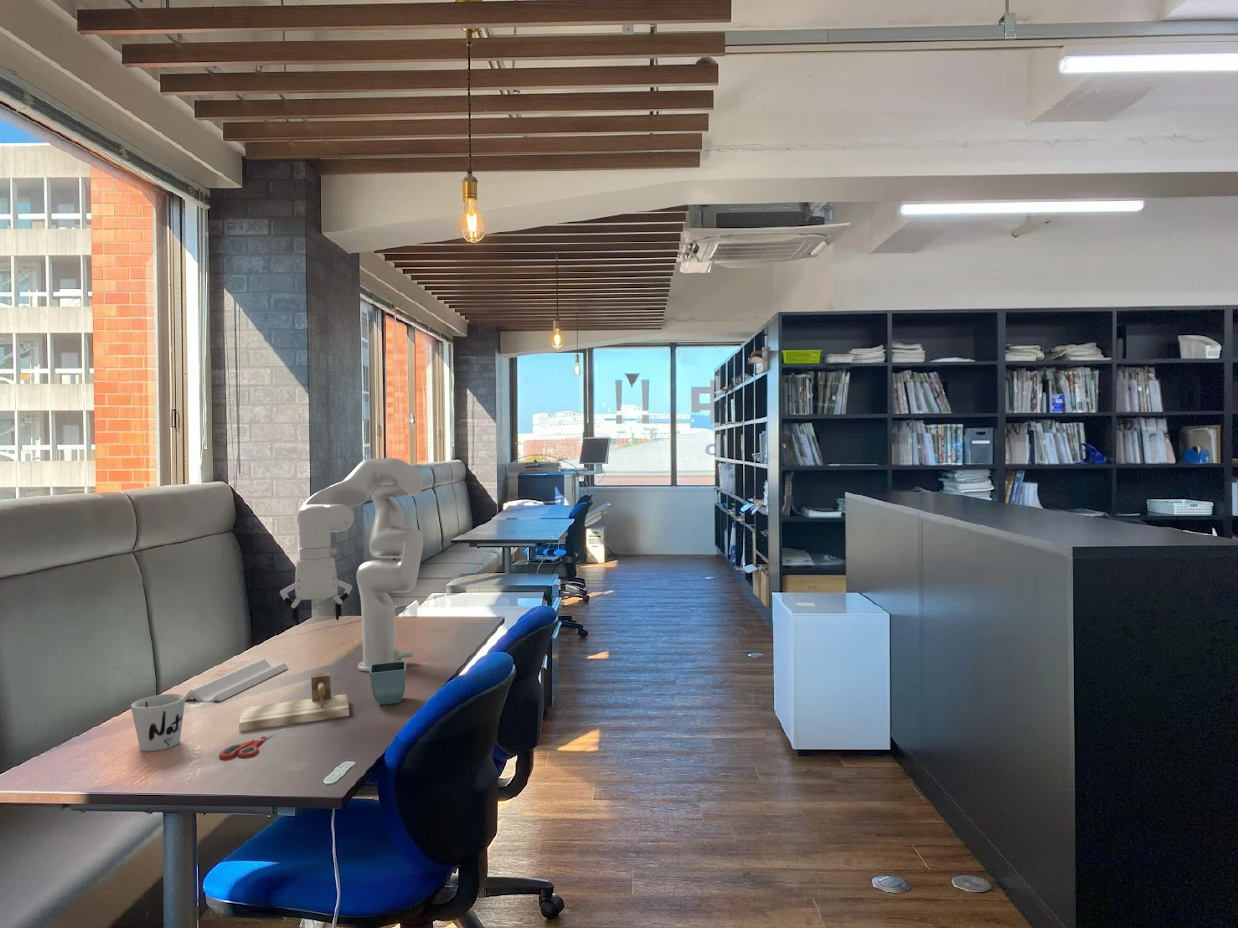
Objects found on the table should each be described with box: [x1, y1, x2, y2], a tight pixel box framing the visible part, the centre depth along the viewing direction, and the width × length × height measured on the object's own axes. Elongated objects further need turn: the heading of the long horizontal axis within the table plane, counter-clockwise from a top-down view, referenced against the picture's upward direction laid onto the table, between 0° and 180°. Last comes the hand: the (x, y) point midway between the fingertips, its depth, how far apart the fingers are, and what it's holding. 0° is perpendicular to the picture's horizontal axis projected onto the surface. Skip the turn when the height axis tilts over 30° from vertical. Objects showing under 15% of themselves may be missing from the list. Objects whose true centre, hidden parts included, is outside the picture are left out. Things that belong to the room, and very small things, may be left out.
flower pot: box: [369, 660, 407, 706], centre depth 202 cm, size 9×9×9 cm
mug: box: [130, 693, 186, 753], centre depth 176 cm, size 10×15×10 cm
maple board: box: [238, 693, 350, 732], centre depth 193 cm, size 24×12×2 cm, turn 112°
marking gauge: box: [310, 671, 332, 707], centre depth 196 cm, size 4×13×8 cm, turn 22°
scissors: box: [218, 726, 288, 761], centre depth 176 cm, size 8×21×2 cm, turn 178°
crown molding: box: [184, 658, 289, 703], centre depth 222 cm, size 31×12×4 cm, turn 171°
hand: (317, 620), depth 204 cm, fingers open, 9 cm apart
